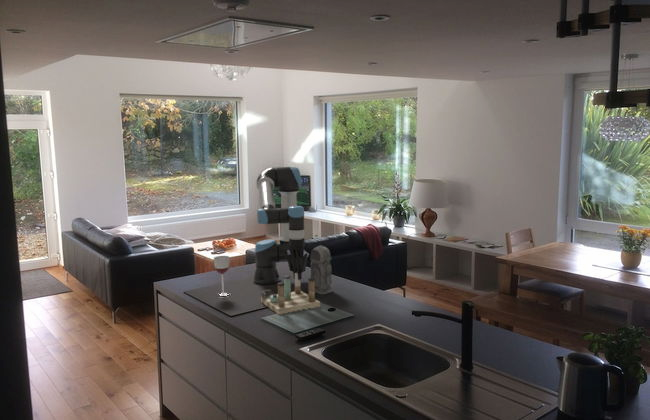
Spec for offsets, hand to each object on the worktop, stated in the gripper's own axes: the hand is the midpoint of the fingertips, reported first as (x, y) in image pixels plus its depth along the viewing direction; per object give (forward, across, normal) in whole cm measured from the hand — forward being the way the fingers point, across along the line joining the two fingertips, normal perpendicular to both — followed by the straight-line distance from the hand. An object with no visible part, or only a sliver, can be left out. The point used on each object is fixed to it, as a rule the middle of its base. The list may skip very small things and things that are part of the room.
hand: (297, 285), depth 266 cm
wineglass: (+10, +44, +3) cm, 45 cm away
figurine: (+10, +1, -26) cm, 28 cm away
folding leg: (+7, +8, +4) cm, 11 cm away
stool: (+10, +4, +1) cm, 11 cm away
